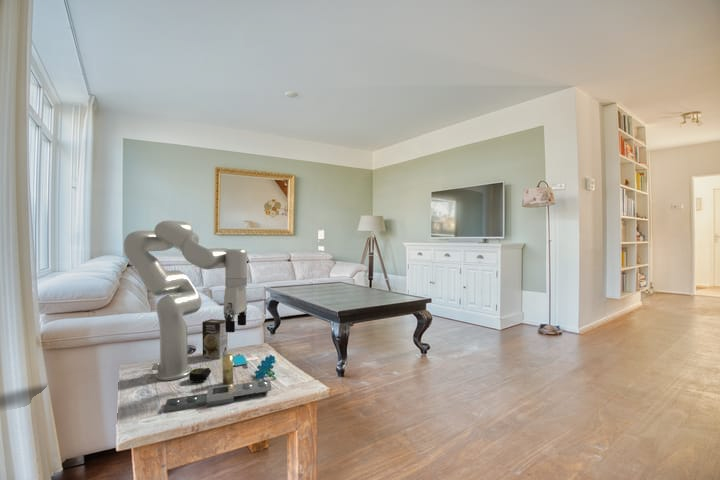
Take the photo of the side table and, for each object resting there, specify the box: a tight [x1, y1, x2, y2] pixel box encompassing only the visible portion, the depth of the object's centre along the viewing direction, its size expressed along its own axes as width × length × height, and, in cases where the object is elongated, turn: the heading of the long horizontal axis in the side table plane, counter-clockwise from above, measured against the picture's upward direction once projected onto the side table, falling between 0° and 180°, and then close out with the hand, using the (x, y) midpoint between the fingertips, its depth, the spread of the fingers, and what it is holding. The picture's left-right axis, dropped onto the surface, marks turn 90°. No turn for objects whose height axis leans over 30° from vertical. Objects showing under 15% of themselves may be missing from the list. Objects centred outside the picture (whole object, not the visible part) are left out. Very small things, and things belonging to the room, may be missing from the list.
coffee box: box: [201, 318, 229, 360], centre depth 158 cm, size 9×6×16 cm
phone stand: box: [233, 353, 259, 369], centre depth 151 cm, size 20×12×2 cm, turn 29°
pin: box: [221, 353, 234, 385], centre depth 128 cm, size 4×4×10 cm
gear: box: [254, 354, 277, 381], centre depth 133 cm, size 11×6×10 cm
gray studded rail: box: [163, 379, 272, 413], centre depth 114 cm, size 32×8×4 cm, turn 110°
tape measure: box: [188, 367, 212, 383], centre depth 131 cm, size 7×7×4 cm
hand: (236, 328), depth 128 cm, fingers open, 9 cm apart
